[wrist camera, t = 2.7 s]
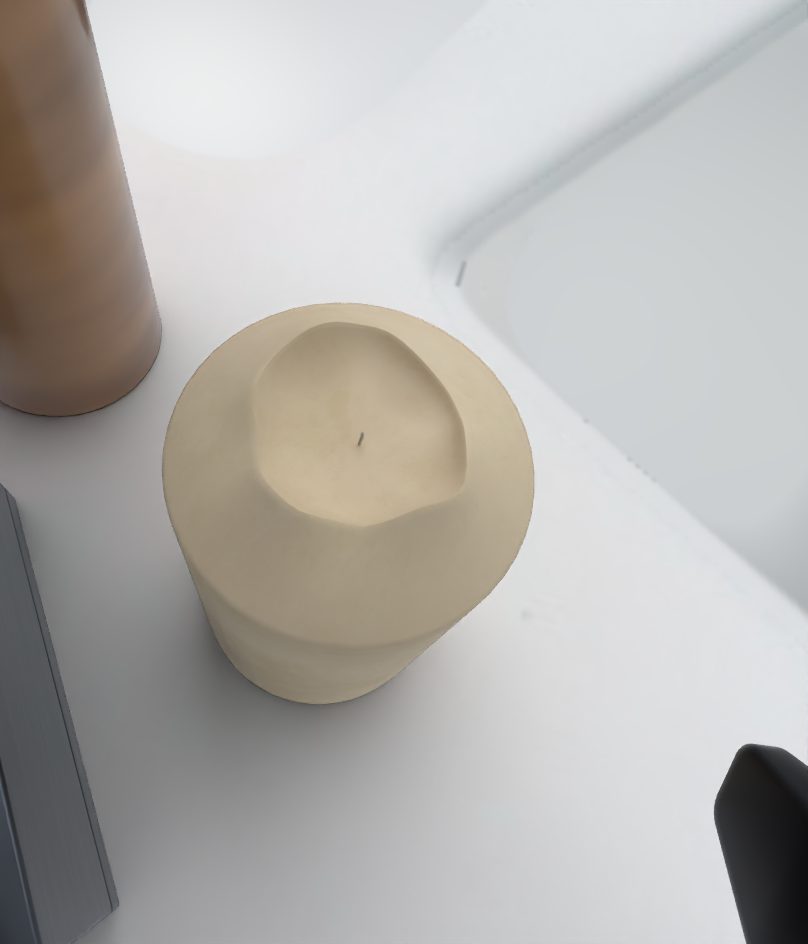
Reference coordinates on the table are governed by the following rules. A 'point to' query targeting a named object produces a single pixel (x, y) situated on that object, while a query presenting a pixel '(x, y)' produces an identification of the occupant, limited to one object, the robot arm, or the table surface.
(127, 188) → the tall beige cylinder
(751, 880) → the robot arm
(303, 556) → the candle
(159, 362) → the table surface
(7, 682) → the open box
